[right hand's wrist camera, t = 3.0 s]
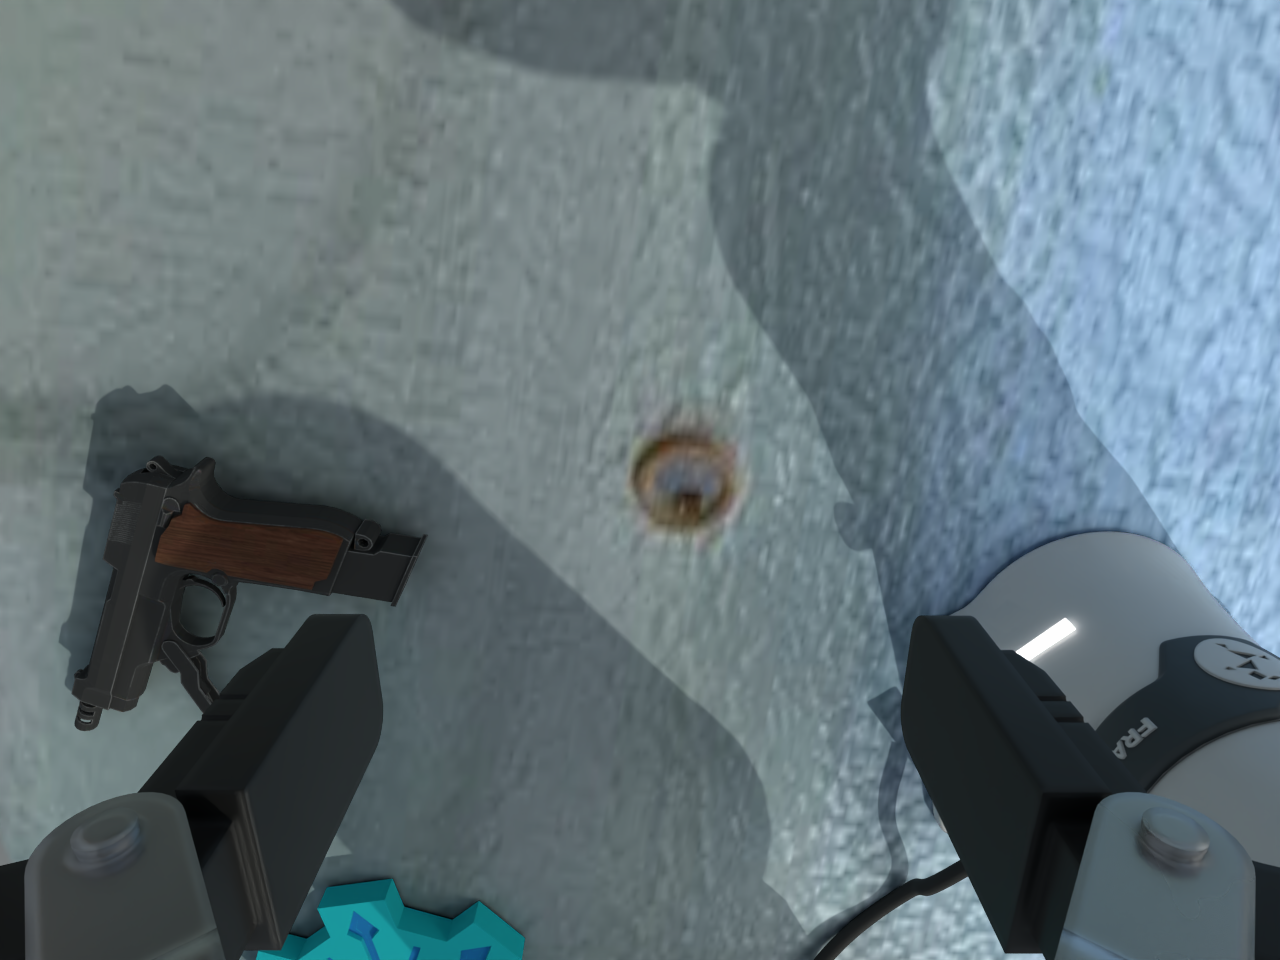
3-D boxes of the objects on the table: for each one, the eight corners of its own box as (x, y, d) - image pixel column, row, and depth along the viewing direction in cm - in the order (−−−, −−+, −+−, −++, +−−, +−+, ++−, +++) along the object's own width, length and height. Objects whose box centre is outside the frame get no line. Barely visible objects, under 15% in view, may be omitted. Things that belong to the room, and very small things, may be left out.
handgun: (415, 561, 40) (114, 441, 36) (301, 816, 47) (45, 736, 44) (430, 528, 43) (155, 415, 40) (321, 772, 51) (84, 694, 47)
